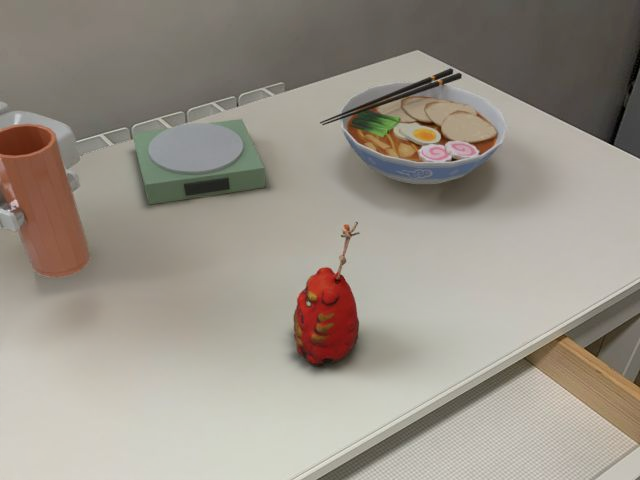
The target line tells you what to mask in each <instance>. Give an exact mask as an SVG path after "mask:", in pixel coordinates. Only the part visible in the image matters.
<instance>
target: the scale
mask: <svg viewBox="0 0 640 480" xmlns="http://www.w3.org/2000/svg"><path fill="white" fill-rule="evenodd" d="M132 137H133V143H134V148H135V152H136V156H137V160H138V164H139V169H140V173H141V177H142V181H143V185H144V189H145V193H146V197H147V202H148V205H156V204H163V203H168V202H169V203H170V202H175V201H176V202H177V201H183V200H189V199H197V198H204V197H210V196H211V197H212V196H217V195H223V194H224V195H225V194H230V193H231V194H232V193H238V192H245V191H252V190H259V189H263V188H266V175H265V166H264V164H263V162H262V160H261V158H260V156H259V153H258V151H257V149H256V147H255V144H254V142H253V140H252V138H251V136H250V134H249V131H248V129H247V127H246V125H245V123H244V120H243V118H239V119H230V120H223V121H222V120H221V121H214V122H207V123H204V122H195V123H193V122H192V123H184V124H179V125H176V126H173V127H168V128H159V129H152V130H144V131H135V132H132Z"/></svg>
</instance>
